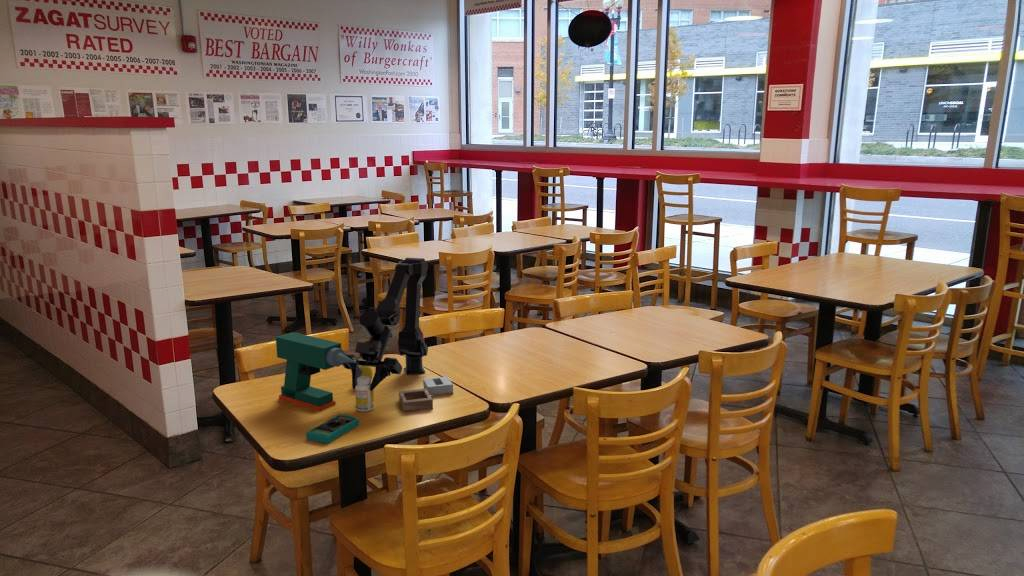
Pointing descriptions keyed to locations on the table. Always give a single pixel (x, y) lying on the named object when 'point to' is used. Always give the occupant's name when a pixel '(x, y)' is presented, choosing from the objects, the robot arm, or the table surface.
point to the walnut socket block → (415, 400)
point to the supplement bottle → (364, 394)
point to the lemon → (366, 371)
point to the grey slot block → (438, 385)
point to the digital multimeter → (332, 428)
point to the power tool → (307, 368)
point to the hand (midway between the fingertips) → (362, 389)
